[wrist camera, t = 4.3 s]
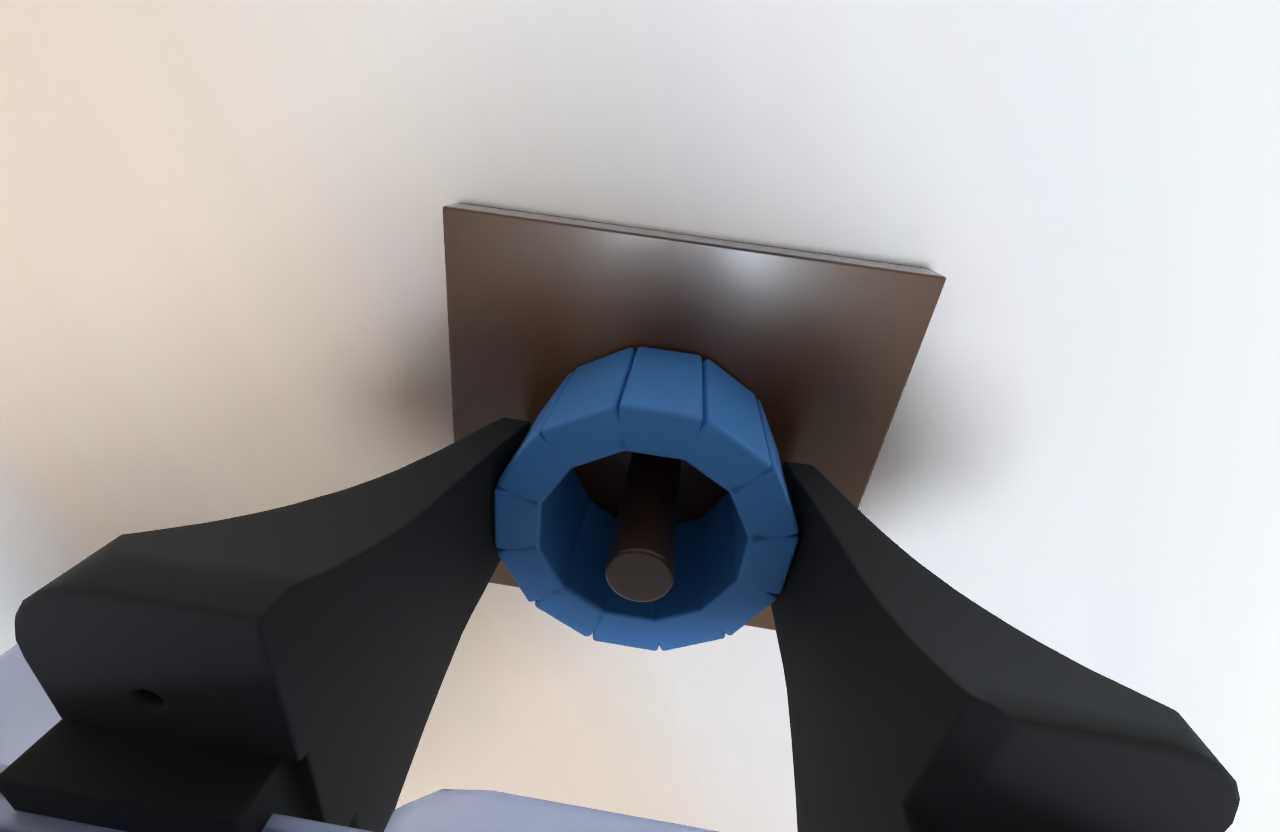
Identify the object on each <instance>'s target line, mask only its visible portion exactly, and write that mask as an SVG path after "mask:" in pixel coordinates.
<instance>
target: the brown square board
mask: <svg viewBox="0 0 1280 832" xmlns="http://www.w3.org/2000/svg"><path fill="white" fill-rule="evenodd" d="M443 224H444V244H445V265H446V285H447V305H448V326H449V346H450V366H451V387H452V407H453V427H454V443H455V442H457V441H459V440H461V439H462V438H464V437H466V436H468V435H470V434H472V433H474V432H476V431H477V430H479V429H481V428H483V427H485V426H487V425H489V424H491V423H493V422H495V421H497V420H499V419H501V418H510V419H516V420H523V421H529V422H530V428H531V426H532V425H533V423H534V421H535V420H536V418H537V417H538V415H539V413H540V412H541V410H542V409H543V408H544V406H545V405H546V404H547V402H548V401H549V400H550V398H551V397H552V396H553V394H554V393H555V392H556V390H557V389H558V388H559V386H560V385H561V384H562V382H563V381H564V380H565V378H566V377H567V376H568V374H569V373H571V372H573V373H574V372H575V370H576V368H577V367H579V366H582V365H585V364H587V363H590V362H593V361H595V360H598V359H600V358H603V357H606V356H608V355H611V354H614V353H616V352H619V351H622V350H624V349H627V348H633V349H634V350H635V353H636V351H637V349H638V347H648V348H655V349H661V350H668V351H675V352H682V353H688V354H695V355H699V356H701V358H702V363H703V361H704V360H706V359H709V360H711V361H712V362H714V363H715V364H716V365H718V366H719V367H720V368H721V369H723V370H724V371H725V372H727V373H728V374H729V375H731V376H732V377H733V378H734V379H736V380H737V381H738V382H740V383H741V384H742V385H743V386H745V387H746V388H747V389H749V390H750V391H751V392H753V393H754V395H755V398H756V399H758V400H760V402H761V405H762V408H763V410H764V413H765V416H766V419H767V422H768V424H769V427H770V430H771V433H772V436H773V438H774V441H775V444H776V447H777V450H778V453H779V457H780V461H781V465H782V467H783V463H784V461H788V462H794V463H801V464H807V465H812V466H814V467H815V468H816V469H817V470H818V471H819V472H820V473H822V474H823V475H824V476H825V477H826V478H827V479H828V480H829V481H830V482H831V483H832V484H833V485H834V486H835V487H836V488H837V489H838V490H839V491H840V492H841V493H842V494H843V495H844V496H845V497H846V498H847V499H848V500H849V501H850V502H851V503H852V504H853V505H854V506H855V507H856V508H857V509H858V507H859V504H860V502H861V499H862V497H863V494H864V491H865V489H866V486H867V484H868V481H869V478H870V476H871V473H872V471H873V468H874V465H875V463H876V460H877V458H878V455H879V452H880V450H881V447H882V444H883V442H884V439H885V437H886V434H887V431H888V429H889V426H890V424H891V421H892V418H893V416H894V413H895V411H896V408H897V405H898V403H899V400H900V398H901V395H902V392H903V390H904V387H905V385H906V382H907V379H908V377H909V374H910V372H911V369H912V366H913V364H914V361H915V359H916V356H917V353H918V351H919V348H920V346H921V343H922V340H923V338H924V335H925V333H926V330H927V327H928V325H929V322H930V320H931V317H932V314H933V312H934V309H935V306H936V304H937V301H938V299H939V296H940V293H941V291H942V288H943V286H944V283H945V280H946V277H944V276H942V275H940V274H938V273H936V272H934V271H932V270H930V269H924V268H917V267H910V266H903V265H896V264H889V263H882V262H875V261H868V260H860V259H853V258H846V257H839V256H832V255H825V254H818V253H811V252H804V251H796V250H789V249H782V248H775V247H768V246H761V245H754V244H747V243H740V242H732V241H725V240H718V239H711V238H704V237H697V236H690V235H683V234H675V233H668V232H661V231H654V230H647V229H640V228H633V227H626V226H619V225H611V224H604V223H597V222H590V221H583V220H576V219H569V218H562V217H555V216H547V215H540V214H533V213H526V212H519V211H512V210H505V209H498V208H491V207H483V206H476V205H469V204H462V203H458V204H453V205H448V206H444V207H443ZM573 469H574V471H575V473H576V475H577V477H578V479H579V480H580V482H581V484H582V486H583V488H584V490H585V491H586V493H587V495H588V497H589V499H590V501H592V502H593V503H595V504H596V505H598V506H599V507H601V508H602V509H604V510H605V511H607V512H608V513H610V514H611V515H613V516H614V517H616V518H617V519H616V523H615V528H614V532H613V537H612V541H611V545H610V550H609V554H608V558H607V563H606V567H605V576H606V579H607V582H608V584H609V586H610V587H611V588H612V590H613V591H614V592H616V593H617V594H618V595H620V596H621V597H623V598H626V599H628V600H632V601H637V602H648V601H653V600H656V599H659V598H661V597H662V596H664V595H665V594H666V593H667V592H668V591H669V590H670V588H671V587H672V585H673V582H674V574H675V558H676V541H677V524H680V523H683V522H687V521H690V520H694V519H698V518H701V517H702V516H703V515H704V514H705V513H707V512H708V511H709V510H710V509H711V508H712V507H713V506H714V505H715V504H716V503H717V502H718V501H719V500H720V499H721V498H722V497H723V496H725V495H726V494H727V493H728V491H727V490H726V489H724V488H723V487H721V486H720V485H719V484H717V483H716V482H714V481H713V480H712V479H710V478H709V477H707V476H706V475H704V474H703V473H702V472H700V471H699V470H697V469H696V468H695V467H693V466H692V465H690V464H689V463H688V462H686V461H685V460H681V459H674V458H668V457H661V456H655V455H649V454H642V453H636V452H629V451H622V452H619V453H616V454H613V455H610V456H607V457H604V458H601V459H598V460H595V461H592V462H588V463H585V464H582V465H579V466H576V467H573ZM489 582H490V583H496V584H502V585H508V586H514V587H519V586H518V584H517V583H516V581H515V580H514V578H513V577H512V575H511V574H510V572H509V571H508V569H507V568H506V566H505V565H504V563H503V562H502V560H501V561H500V563H499V564H498V566H497V568H496V570H495V572H494V574H493V575H492V577H491V579H490V581H489ZM745 625H748V626H754V627H760V628H766V629H771V630H776V628H775V623H774V618H773V613H772V608H771V605H769V606H768V607H767V608H766V609H764V610H763V611H762V612H760V613H759V614H758V615H756V616H755V617H754V618H753V619H751V620H750V621H749V622H747V623H746V624H745Z"/></svg>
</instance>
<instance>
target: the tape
mask: <svg viewBox="0 0 1280 832" xmlns="http://www.w3.org/2000/svg"><path fill="white" fill-rule="evenodd" d="M622 451H629V452H636V453H642V454H649V455H655V456H661V457H668V458H674V459H681V460H685V461H686V462H688V463H689V464H690V465H692V466H693V467H695V468H696V469H697V470H699V471H700V472H702V473H703V474H704V475H706V476H707V477H709V478H710V479H712V480H713V481H714V482H716V483H717V484H719V485H720V486H721V487H723V488H724V489H726V490H727V491H728V493H727V494H726V495H725V496H723V497H722V498H721V499H720V500H719V501H718V502H717V503H716V504H715V505H714V506H713V507H712V508H711V509H710V510H709V511H708V512H707V513H705V514H704V515H703V516H702V517H701V518H698V519H694V520H690V521H687V522H683V523H680V524H677V541H676V558H675V574H674V582H673V585H672V587H671V588H670V590H669V591H668V592H667V593H666V594H665V595H664V596H662V597H661V598H659V599H656V600H653V601H648V602H637V601H632V600H628V599H626V598H623V597H621V596H620V595H618V594H617V593H616V592H614V591H613V590H612V588H611V587H610V586H609V584H608V582H607V579H606V576H605V567H606V563H607V558H608V554H609V550H610V545H611V541H612V537H613V532H614V528H615V523H616V519H617V518H616V517H614V516H613V515H611V514H610V513H608V512H607V511H605V510H604V509H602V508H601V507H599V506H598V505H596V504H595V503H593V502H592V501H590V499H589V497H588V495H587V493H586V491H585V490H584V488H583V486H582V484H581V482H580V480H579V479H578V477H577V475H576V473H575V471H574V469H573V467H576V466H579V465H582V464H585V463H588V462H592V461H595V460H598V459H601V458H604V457H607V456H610V455H613V454H616V453H619V452H622ZM494 508H495V547H496V548H499V549H498V551H497V554H498V556H499V557H500V559H501V560H502V562H503V563H504V565H505V566H506V568H507V569H508V571H509V572H510V574H511V575H512V577H513V578H514V580H515V581H516V583H517V584H518V586H519V587H520V589H521V590H522V592H523V593H524V595H525V596H526V598H527V599H528V601H530V602H532V601H535V605H536V607H537V608H539V609H541V610H542V611H544V612H546V613H547V614H549V615H551V616H552V617H554V618H556V619H557V620H559V621H561V622H562V623H564V624H566V625H567V626H569V627H571V628H572V629H574V630H576V631H577V632H579V633H581V634H582V635H584V636H590V635H591V634H592V633H593V639H594V640H595V641H601V642H607V643H612V644H618V645H624V646H630V647H636V648H642V649H648V650H654V651H655V650H657V649H658V646H659V645H660V647H661V649H662V650H663V651H665V650H670V649H675V648H680V647H684V646H689V645H694V644H699V643H703V642H708V641H713V640H718V639H722V638H724V637H725V633H726V634H728V635H732V634H733V633H735V632H736V631H737V630H738V629H740V628H741V627H742V626H744V625H745V624H746V623H747V622H749V621H750V620H751V619H753V618H754V617H755V616H756V615H758V614H759V613H760V612H762V611H763V610H764V609H766V608H767V607H768V606H769V605H771V604H772V603H773V602H775V601H776V600H777V598H778V597H777V594H780V593H781V592H782V589H783V586H784V583H785V580H786V577H787V574H788V571H789V568H790V565H791V562H792V559H793V556H794V553H795V550H796V547H797V544H798V541H799V538H798V534H797V533H798V532H799V528H798V524H797V521H796V517H795V513H794V509H793V506H792V502H791V498H790V494H789V491H788V487H787V483H786V480H785V476H784V472H783V468H782V465H781V461H780V457H779V453H778V450H777V447H776V444H775V441H774V438H773V436H772V433H771V430H770V427H769V424H768V422H767V419H766V416H765V413H764V410H763V408H762V405H761V402H760V400H758V399H756V398H755V395H754V393H753V392H751V391H750V390H749V389H747V388H746V387H745V386H743V385H742V384H741V383H740V382H738V381H737V380H736V379H734V378H733V377H732V376H731V375H729V374H728V373H727V372H725V371H724V370H723V369H721V368H720V367H719V366H718V365H716V364H715V363H714V362H712V361H711V360H709V359H706V360H704V361H703V363H702V358H701V356H699V355H695V354H688V353H682V352H675V351H668V350H661V349H655V348H648V347H638V349H637V351H636V353H635V350H634V349H633V348H627V349H624V350H622V351H619V352H616V353H614V354H611V355H608V356H606V357H603V358H600V359H598V360H595V361H593V362H590V363H587V364H585V365H582V366H579V367H577V368H576V370H575V372H574V373H573V372H571V373H569V374H568V376H567V377H566V378H565V380H564V381H563V382H562V384H561V385H560V386H559V388H558V389H557V390H556V392H555V393H554V394H553V396H552V397H551V398H550V400H549V401H548V402H547V404H546V405H545V406H544V408H543V409H542V410H541V412H540V413H539V415H538V417H537V418H536V420H535V421H534V423H533V425H532V426H531V428H530V429H529V431H528V433H527V434H526V436H525V438H524V439H523V441H522V442H521V444H520V446H519V447H518V449H517V451H516V452H515V454H514V455H513V457H512V459H511V460H510V462H509V464H508V465H507V467H506V468H505V470H504V472H503V473H502V475H501V476H500V478H499V480H498V485H497V487H496V489H495V491H494Z"/></svg>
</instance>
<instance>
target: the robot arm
mask: <svg viewBox="0 0 1280 832" xmlns="http://www.w3.org/2000/svg"><path fill="white" fill-rule="evenodd" d="M529 429H530V422H529V421H523V420H516V419H510V418H501V419H499V420H497V421H495V422H493V423H491V424H489V425H487V426H485V427H483V428H481V429H479V430H477V431H476V432H474V433H472V434H470V435H468V436H466V437H464V438H462V439H461V440H459V441H457V442H455V443H453V444H451V445H449V446H447V447H445V448H443V449H441V450H439V451H437V452H435V453H433V454H431V455H429V456H427V457H424V458H422V459H420V460H418V461H416V462H414V463H412V464H409V465H407V466H405V467H403V468H401V469H398V470H396V471H394V472H391V473H389V474H386V475H384V476H381V477H379V478H376V479H373V480H371V481H368V482H365V483H362V484H359V485H357V486H354V487H351V488H348V489H345V490H342V491H338V492H335V493H331V494H328V495H324V496H321V497H317V498H314V499H310V500H307V501H303V502H300V503H296V504H293V505H289V506H285V507H281V508H276V509H272V510H268V511H263V512H259V513H254V514H249V515H244V516H239V517H234V518H230V519H224V520H219V521H213V522H208V523H202V524H195V525H188V526H181V527H174V528H168V529H161V530H154V531H147V532H140V533H132V534H124V535H121V536H119V537H118V538H116V539H114V540H113V541H111V542H110V543H108V544H107V545H105V546H104V547H102V548H101V549H100V550H98V551H97V552H95V553H94V554H92V555H91V556H89V557H88V558H86V559H85V560H83V561H82V562H80V563H79V564H77V565H76V566H74V567H73V568H71V569H70V570H68V571H67V572H65V573H64V574H62V575H61V576H59V577H58V578H56V579H55V580H53V581H52V582H50V583H49V584H47V585H46V586H44V587H43V588H41V589H40V590H38V591H37V592H35V593H34V594H32V595H31V596H29V597H28V598H26V599H25V600H23V602H22V604H21V606H20V607H19V609H18V611H17V613H16V616H15V636H16V641H17V643H18V644H17V645H15V646H14V647H12V648H11V649H10V650H8V651H7V652H5V653H4V654H3V655H1V656H0V832H718V831H712V830H707V829H701V828H695V827H690V826H684V825H679V824H673V823H668V822H662V821H657V820H651V819H646V818H640V817H635V816H629V815H624V814H618V813H613V812H607V811H601V810H596V809H590V808H585V807H579V806H574V805H568V804H563V803H557V802H552V801H546V800H541V799H535V798H530V797H524V796H519V795H513V794H507V793H502V792H496V791H488V790H452V789H441V790H439V791H437V792H434V793H432V794H429V795H427V796H425V797H422V798H420V799H417V800H415V801H412V802H410V803H408V804H406V805H404V806H402V807H400V808H398V809H396V810H395V807H396V804H397V801H398V799H399V796H400V793H401V790H402V787H403V784H404V782H405V779H406V776H407V773H408V771H409V768H410V765H411V763H412V760H413V757H414V754H415V752H416V749H417V746H418V744H419V741H420V738H421V735H422V733H423V730H424V727H425V725H426V722H427V720H428V717H429V715H430V712H431V709H432V707H433V704H434V702H435V699H436V697H437V694H438V691H439V689H440V686H441V684H442V681H443V679H444V676H445V674H446V671H447V669H448V666H449V664H450V662H451V659H452V657H453V654H454V652H455V649H456V647H457V645H458V642H459V640H460V637H461V635H462V633H463V631H464V629H465V627H466V625H467V622H468V620H469V618H470V616H471V614H472V612H473V611H474V609H475V607H476V605H477V603H478V601H479V599H480V598H481V596H482V594H483V592H484V590H485V588H486V587H487V585H488V583H489V581H490V579H491V577H492V575H493V574H494V572H495V570H496V568H497V566H498V564H499V563H500V561H501V559H500V557H499V556H498V554H497V551H498V549H499V548H496V547H495V508H494V491H495V489H496V487H497V485H498V480H499V478H500V476H501V475H502V473H503V472H504V470H505V468H506V467H507V465H508V464H509V462H510V460H511V459H512V457H513V455H514V454H515V452H516V451H517V449H518V447H519V446H520V444H521V442H522V441H523V439H524V438H525V436H526V434H527V433H528V431H529ZM782 468H783V472H784V476H785V480H786V483H787V487H788V491H789V494H790V498H791V502H792V506H793V509H794V513H795V517H796V521H797V524H798V528H799V532H798V533H797V534H798V538H799V541H798V544H797V547H796V550H795V553H794V556H793V559H792V562H791V565H790V568H789V571H788V574H787V577H786V580H785V583H784V586H783V589H782V592H781V593H780V594H777V597H778V598H777V600H776V601H775V602H773V603H772V604H771V608H772V613H773V618H774V623H775V628H776V633H777V638H778V643H779V648H780V653H781V658H782V663H783V667H784V674H785V680H786V687H787V695H788V706H789V716H790V727H791V738H792V751H793V764H794V778H795V791H796V808H797V827H798V832H1225V831H1226V830H1227V829H1228V828H1229V826H1230V825H1231V824H1232V823H1233V820H1234V817H1235V814H1236V811H1237V808H1238V805H1239V801H1240V797H1239V792H1238V788H1237V783H1236V781H1235V780H1234V779H1233V777H1232V776H1231V775H1230V774H1229V773H1228V771H1227V770H1226V769H1225V768H1224V767H1223V765H1222V764H1221V763H1220V762H1219V761H1218V759H1217V758H1216V757H1215V756H1214V755H1213V754H1212V752H1211V751H1210V750H1209V749H1208V748H1207V746H1206V745H1205V744H1204V743H1203V742H1202V740H1201V739H1200V738H1199V737H1198V736H1197V734H1196V733H1195V732H1194V731H1193V730H1192V729H1191V727H1190V726H1189V725H1188V724H1187V723H1186V721H1185V720H1184V719H1183V718H1182V717H1181V716H1180V714H1179V713H1178V712H1176V711H1175V710H1173V709H1171V708H1169V707H1167V706H1165V705H1163V704H1161V703H1159V702H1157V701H1155V700H1153V699H1150V698H1148V697H1146V696H1144V695H1142V694H1140V693H1138V692H1136V691H1134V690H1132V689H1130V688H1128V687H1125V686H1123V685H1121V684H1119V683H1117V682H1115V681H1113V680H1111V679H1109V678H1107V677H1105V676H1103V675H1101V674H1098V673H1096V672H1094V671H1092V670H1090V669H1088V668H1086V667H1084V666H1082V665H1080V664H1079V663H1077V662H1075V661H1073V660H1071V659H1069V658H1068V657H1066V656H1064V655H1062V654H1060V653H1058V652H1057V651H1055V650H1053V649H1051V648H1049V647H1047V646H1046V645H1044V644H1042V643H1040V642H1038V641H1036V640H1035V639H1033V638H1031V637H1030V636H1028V635H1026V634H1024V633H1023V632H1021V631H1019V630H1018V629H1016V628H1014V627H1012V626H1011V625H1009V624H1007V623H1006V622H1004V621H1003V620H1001V619H999V618H998V617H996V616H995V615H993V614H992V613H990V612H988V611H987V610H985V609H984V608H982V607H980V606H979V605H977V604H976V603H974V602H973V601H971V600H970V599H968V598H967V597H965V596H964V595H962V594H961V593H959V592H958V591H956V590H955V589H953V588H952V587H951V586H949V585H948V584H947V583H945V582H944V581H943V580H941V579H940V578H938V577H937V576H936V575H934V574H933V573H932V572H930V571H929V570H928V569H926V568H925V567H924V566H922V565H921V564H920V563H918V562H917V561H916V560H915V559H913V558H912V557H911V556H910V555H908V554H907V553H906V552H905V551H904V550H903V549H901V548H900V547H899V546H898V545H897V544H896V543H894V542H893V541H892V540H891V539H890V538H889V537H887V536H886V535H885V534H884V533H883V532H882V531H881V530H880V529H878V528H877V527H876V526H875V525H874V524H873V523H872V522H871V521H870V520H869V519H868V518H867V517H865V516H864V515H863V514H862V513H861V512H860V511H859V510H858V509H857V508H856V507H855V506H854V505H853V504H852V503H851V502H850V501H849V500H848V499H847V498H846V497H845V496H844V495H843V494H842V493H841V492H840V491H839V490H838V489H837V488H836V487H835V486H834V485H833V484H832V483H831V482H830V481H829V480H828V479H827V478H826V477H825V476H824V475H823V474H822V473H820V472H819V471H818V470H817V469H816V468H815V467H814V466H812V465H807V464H801V463H794V462H788V461H784V463H783V467H782Z"/></svg>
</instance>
